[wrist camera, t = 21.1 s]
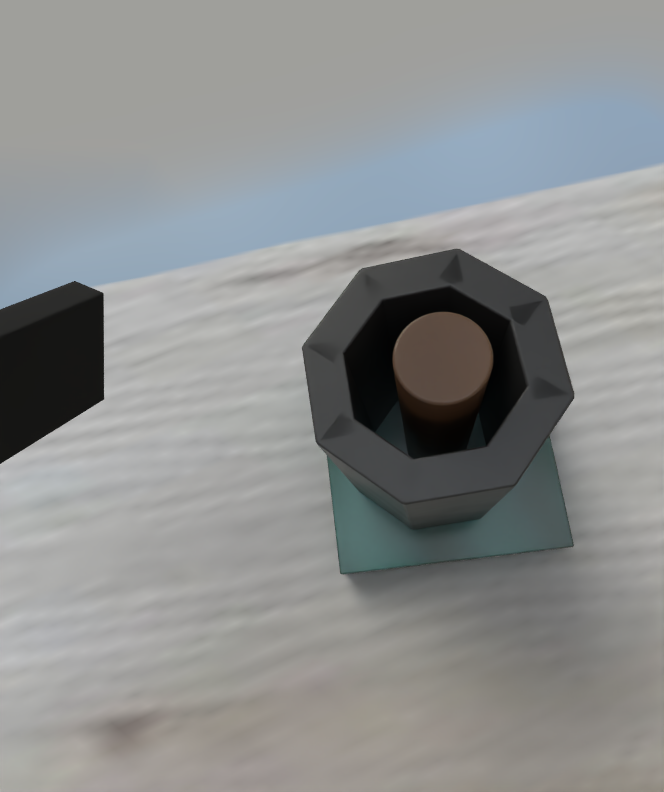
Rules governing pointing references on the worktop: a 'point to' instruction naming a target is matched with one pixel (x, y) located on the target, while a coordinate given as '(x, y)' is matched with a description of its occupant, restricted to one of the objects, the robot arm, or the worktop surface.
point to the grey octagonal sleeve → (377, 393)
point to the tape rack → (436, 434)
